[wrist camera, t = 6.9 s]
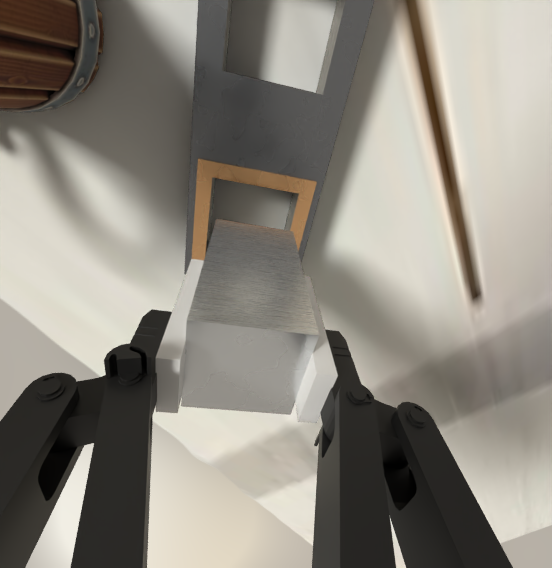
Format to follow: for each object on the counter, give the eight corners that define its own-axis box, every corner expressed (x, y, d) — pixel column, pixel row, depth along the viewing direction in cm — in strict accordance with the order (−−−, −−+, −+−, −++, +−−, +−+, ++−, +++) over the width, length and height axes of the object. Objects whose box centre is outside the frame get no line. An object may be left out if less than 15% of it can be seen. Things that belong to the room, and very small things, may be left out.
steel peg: (216, 218, 18) (186, 319, 10) (293, 231, 18) (319, 335, 11) (209, 284, 20) (181, 406, 12) (277, 293, 21) (290, 414, 13)
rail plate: (213, -129, 15) (206, -164, 13) (382, -72, 17) (401, -95, 15) (189, 259, 27) (184, 275, 25) (290, 273, 28) (293, 290, 26)
